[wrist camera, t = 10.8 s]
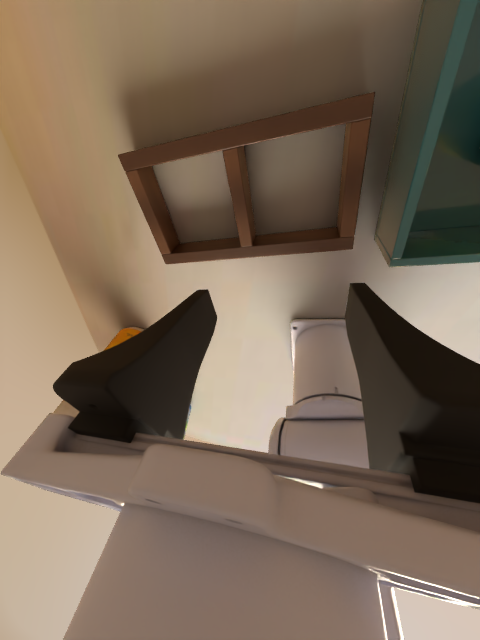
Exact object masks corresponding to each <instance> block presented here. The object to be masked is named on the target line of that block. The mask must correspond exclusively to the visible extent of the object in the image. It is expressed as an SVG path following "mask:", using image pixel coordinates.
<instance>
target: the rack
mask: <svg viewBox="0 0 480 640" xmlns="http://www.w3.org/2000/svg"><path fill="white" fill-rule="evenodd" d="M374 97H375V92H371V93H366V94H362V95H358V96H354V97H350V98H346V99H342V100H338V101H334V102H330V103H326V104H322V105H317V106H313V107H309V108H305V109H301V110H297V111H293V112H289V113H285V114H281V115H277V116H273V117H269V118H265V119H260V120H256V121H252V122H248V123H244V124H240V125H236V126H232V127H228V128H224V129H220V130H216V131H212V132H208V133H204V134H199V135H195V136H191V137H187V138H183V139H179V140H175V141H171V142H167V143H163V144H159V145H155V146H151V147H147V148H142V149H138V150H134V151H131V152H127V153H123V154H119V155H118V157H119V159H120V161H121V164H122V166H123V168H124V170H125V171H126V175H127V177H128V179H129V181H130V184H131V186H132V188H133V190H134V193H135V195H136V197H137V200H138V202H139V204H140V206H141V209H142V211H143V213H144V216H145V218H146V220H147V222H148V225H149V227H150V229H151V231H152V234H153V236H154V238H155V241H156V243H157V245H158V247H159V250H160V252H161V254H162V257H163V259H164V261H165V264H176V263H188V262H201V261H213V260H226V259H238V258H251V257H263V256H276V255H288V254H301V253H313V252H326V251H338V250H351V249H353V243H354V235H355V229H356V222H357V215H358V208H359V201H360V194H361V187H362V180H363V173H364V166H365V159H366V152H367V145H368V138H369V131H370V124H371V117H372V111H373V104H374ZM345 123H346V127H345V138H344V149H343V161H342V172H341V183H340V194H339V205H338V217H337V227H331V228H322V229H312V230H303V231H293V232H284V233H275V234H265V235H256V228H255V221H254V214H253V207H252V200H251V193H250V186H249V179H248V172H247V164H246V157H245V150H244V145H249V144H253V143H258V142H262V141H267V140H271V139H276V138H281V137H285V136H290V135H294V134H299V133H303V132H308V131H313V130H317V129H322V128H326V127H331V126H335V125H340V124H345ZM221 150H223V156H224V161H225V166H226V172H227V177H228V182H229V187H230V193H231V198H232V203H233V208H234V213H235V219H236V224H237V229H238V234H239V237H237V238H227V239H218V240H209V241H199V242H190V243H180V242H179V239H178V236H177V234H176V231H175V228H174V226H173V223H172V220H171V218H170V215H169V212H168V209H167V207H166V204H165V201H164V199H163V196H162V193H161V190H160V188H159V185H158V182H157V180H156V177H155V174H154V172H153V169H152V165H157V164H162V163H166V162H171V161H175V160H180V159H184V158H189V157H194V156H198V155H203V154H207V153H212V152H216V151H221Z"/></svg>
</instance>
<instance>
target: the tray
mask: <svg viewBox="0 0 480 640" xmlns="http://www.w3.org/2000/svg"><path fill="white" fill-rule="evenodd" d="M374 240H375V242H376V243H377V245H378V247H379V249H380V251H381V253H382V255H383V257H384V258H385V260H386V262H387V264H388V266H389V267H404V266H421V265H438V264H455V263H473V262H480V0H422V5H421V10H420V15H419V20H418V25H417V30H416V35H415V40H414V45H413V50H412V54H411V59H410V64H409V69H408V74H407V79H406V84H405V89H404V94H403V99H402V104H401V109H400V114H399V119H398V124H397V129H396V134H395V139H394V143H393V148H392V153H391V158H390V163H389V168H388V173H387V178H386V183H385V188H384V193H383V198H382V203H381V208H380V213H379V218H378V223H377V227H376V232H375V237H374Z"/></svg>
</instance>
